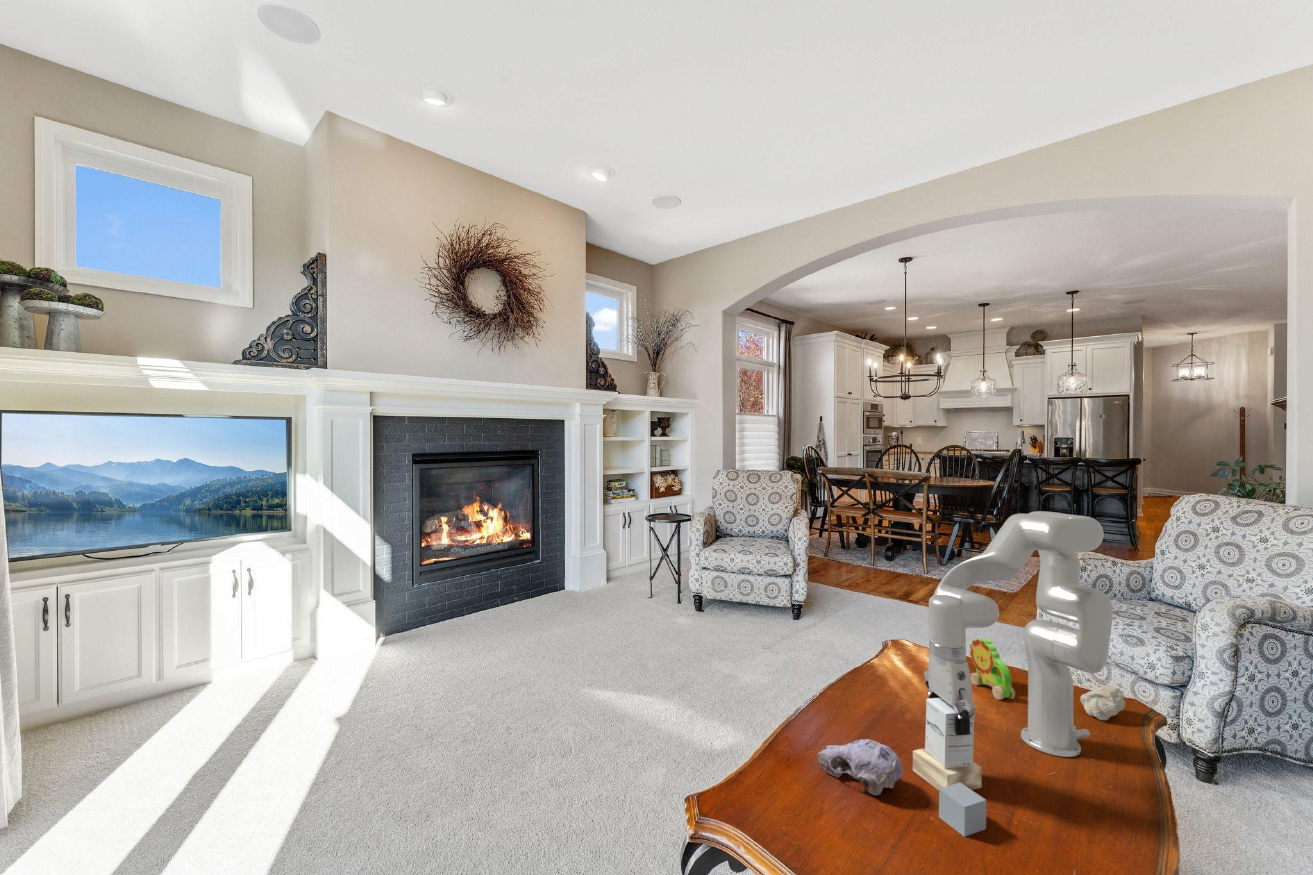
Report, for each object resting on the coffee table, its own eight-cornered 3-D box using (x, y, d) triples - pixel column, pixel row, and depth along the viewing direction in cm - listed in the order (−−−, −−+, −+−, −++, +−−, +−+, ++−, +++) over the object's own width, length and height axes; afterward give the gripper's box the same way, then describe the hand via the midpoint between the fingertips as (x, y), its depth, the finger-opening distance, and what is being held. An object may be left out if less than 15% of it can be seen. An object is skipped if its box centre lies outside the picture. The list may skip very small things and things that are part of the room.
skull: (811, 775, 131) (808, 731, 132) (841, 760, 138) (838, 718, 139) (886, 809, 115) (882, 759, 117) (915, 790, 122) (911, 743, 124)
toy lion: (1016, 701, 164) (1016, 651, 164) (1000, 702, 164) (1000, 651, 164) (980, 678, 180) (980, 632, 180) (964, 679, 180) (964, 633, 180)
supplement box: (923, 750, 130) (925, 697, 130) (952, 748, 131) (953, 696, 131) (944, 769, 123) (945, 713, 123) (974, 767, 124) (975, 711, 124)
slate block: (960, 810, 116) (960, 782, 116) (986, 829, 111) (986, 799, 111) (939, 817, 114) (939, 788, 114) (964, 837, 109) (964, 806, 109)
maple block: (945, 763, 133) (945, 743, 133) (981, 788, 124) (981, 766, 124) (912, 771, 130) (912, 750, 130) (947, 797, 121) (947, 775, 121)
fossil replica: (1081, 719, 154) (1127, 732, 149) (1085, 692, 153) (1131, 704, 148) (1076, 699, 164) (1119, 710, 159) (1079, 673, 164) (1122, 683, 158)
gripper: (988, 664, 119) (990, 742, 119) (939, 635, 136) (940, 703, 136) (956, 666, 118) (957, 745, 118) (911, 637, 135) (912, 705, 135)
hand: (948, 722), depth 127 cm, fingers open, 9 cm apart
